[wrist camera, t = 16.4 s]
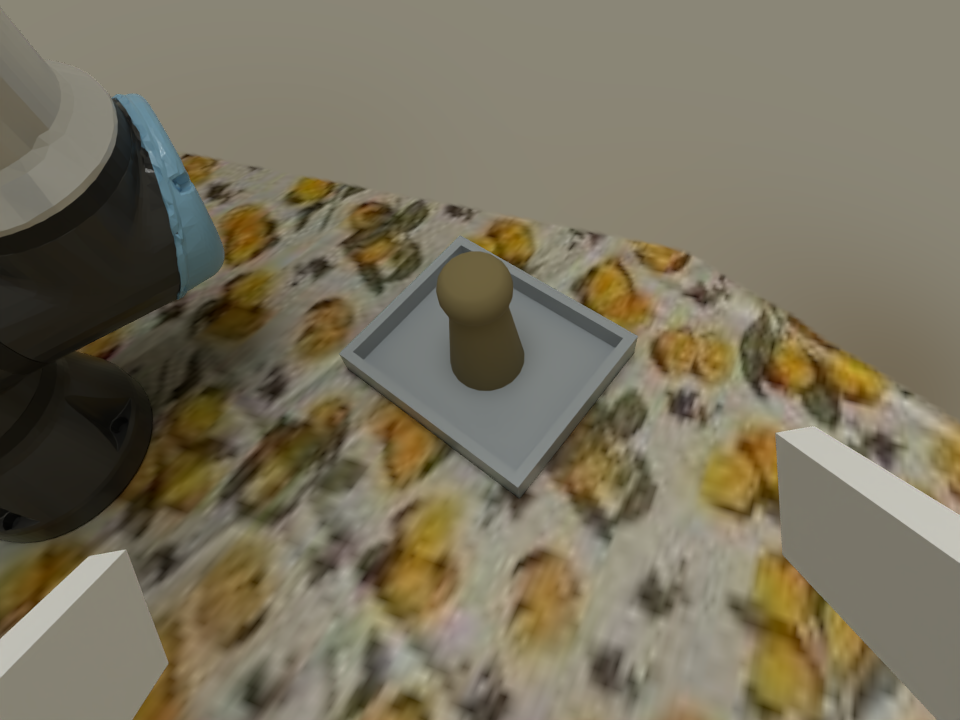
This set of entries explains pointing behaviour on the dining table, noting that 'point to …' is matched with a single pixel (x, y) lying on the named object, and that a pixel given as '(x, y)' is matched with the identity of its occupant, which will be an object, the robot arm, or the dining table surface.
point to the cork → (480, 320)
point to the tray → (502, 412)
